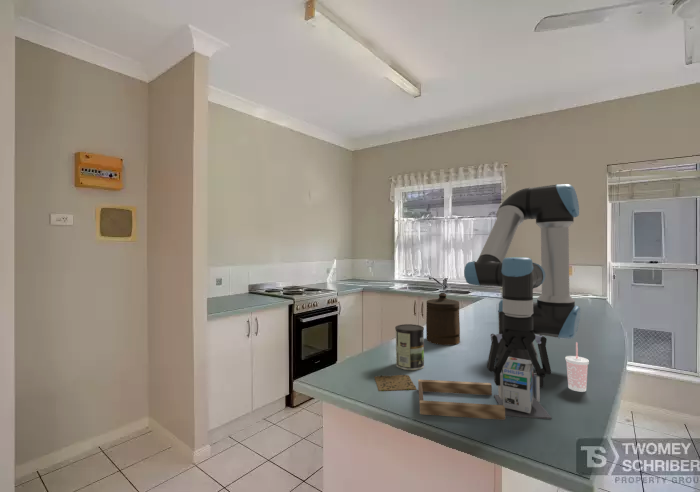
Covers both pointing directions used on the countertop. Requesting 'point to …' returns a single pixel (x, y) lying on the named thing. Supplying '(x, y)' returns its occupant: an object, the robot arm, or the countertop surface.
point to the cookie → (394, 383)
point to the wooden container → (442, 321)
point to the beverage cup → (577, 372)
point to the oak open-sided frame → (454, 407)
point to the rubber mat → (536, 412)
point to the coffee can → (409, 347)
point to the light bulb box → (518, 384)
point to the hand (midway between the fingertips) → (518, 397)
